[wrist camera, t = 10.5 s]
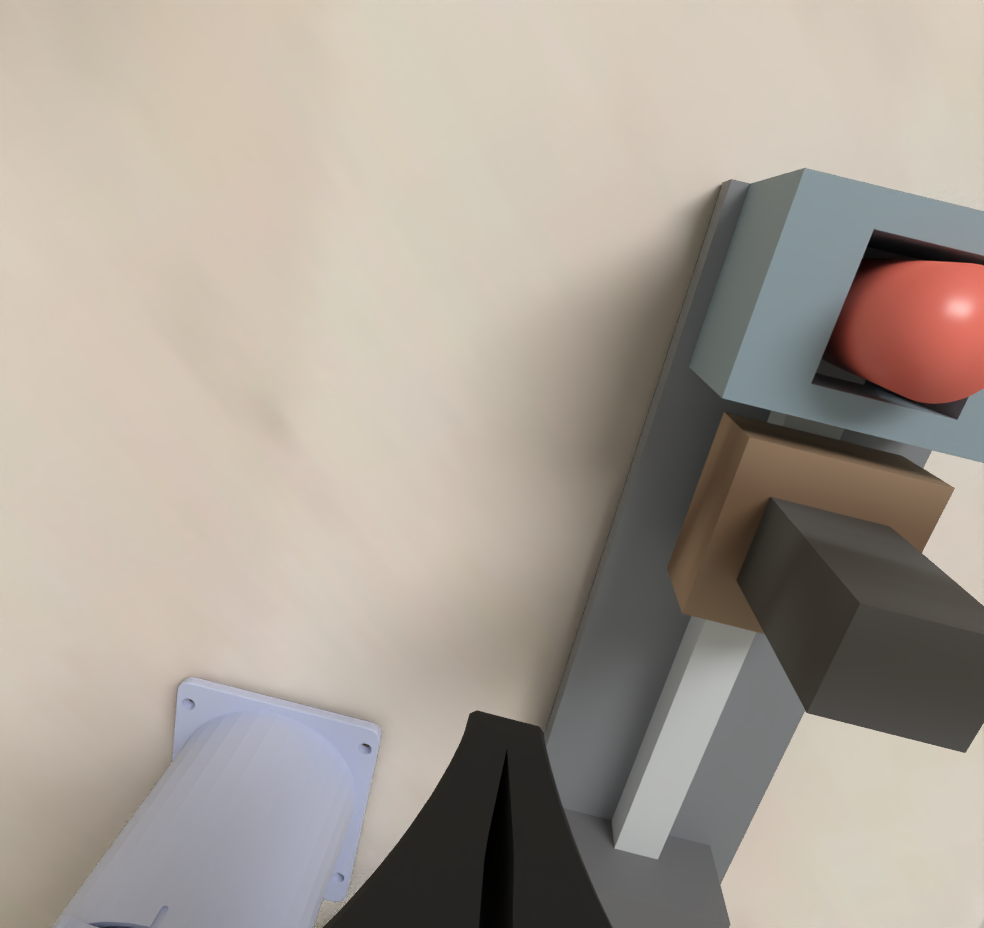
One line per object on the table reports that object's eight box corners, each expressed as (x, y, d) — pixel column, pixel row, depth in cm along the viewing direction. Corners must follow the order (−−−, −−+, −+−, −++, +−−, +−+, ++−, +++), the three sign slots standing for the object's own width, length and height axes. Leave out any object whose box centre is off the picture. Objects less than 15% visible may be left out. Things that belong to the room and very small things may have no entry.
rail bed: (712, 865, 26) (746, 1003, 21) (517, 816, 26) (509, 942, 22) (1004, 250, 18) (1161, 255, 13) (722, 182, 18) (781, 162, 13)
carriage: (829, 609, 20) (984, 817, 12) (667, 568, 20) (729, 753, 13) (902, 455, 18) (1128, 596, 11) (724, 411, 18) (833, 522, 11)
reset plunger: (890, 379, 17) (983, 417, 14) (787, 354, 17) (851, 385, 14) (938, 272, 16) (1052, 282, 13) (829, 245, 16) (910, 247, 13)
